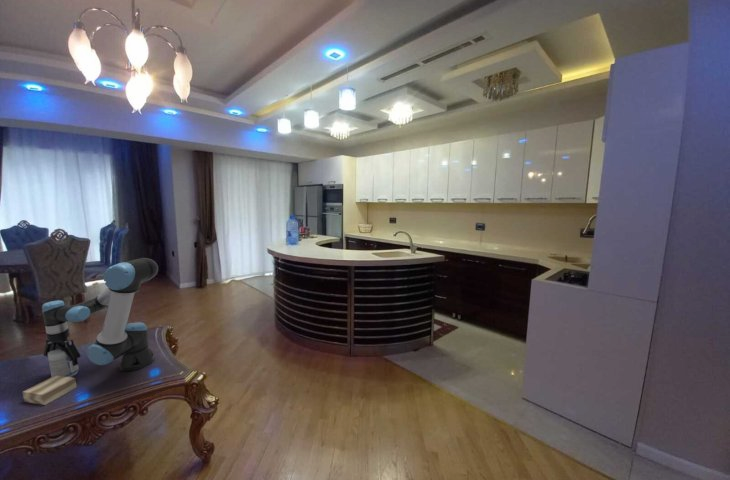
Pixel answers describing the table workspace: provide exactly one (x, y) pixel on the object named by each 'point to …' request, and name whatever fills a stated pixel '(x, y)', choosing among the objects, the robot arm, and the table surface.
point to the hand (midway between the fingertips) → (64, 369)
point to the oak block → (49, 390)
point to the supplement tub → (60, 364)
